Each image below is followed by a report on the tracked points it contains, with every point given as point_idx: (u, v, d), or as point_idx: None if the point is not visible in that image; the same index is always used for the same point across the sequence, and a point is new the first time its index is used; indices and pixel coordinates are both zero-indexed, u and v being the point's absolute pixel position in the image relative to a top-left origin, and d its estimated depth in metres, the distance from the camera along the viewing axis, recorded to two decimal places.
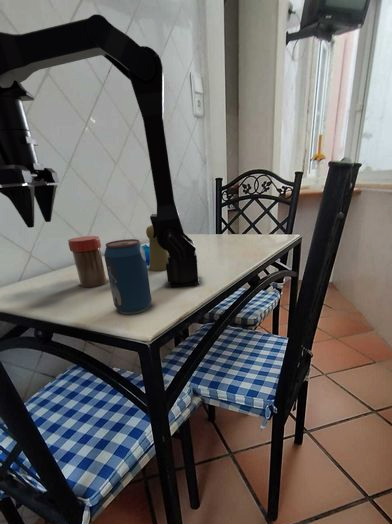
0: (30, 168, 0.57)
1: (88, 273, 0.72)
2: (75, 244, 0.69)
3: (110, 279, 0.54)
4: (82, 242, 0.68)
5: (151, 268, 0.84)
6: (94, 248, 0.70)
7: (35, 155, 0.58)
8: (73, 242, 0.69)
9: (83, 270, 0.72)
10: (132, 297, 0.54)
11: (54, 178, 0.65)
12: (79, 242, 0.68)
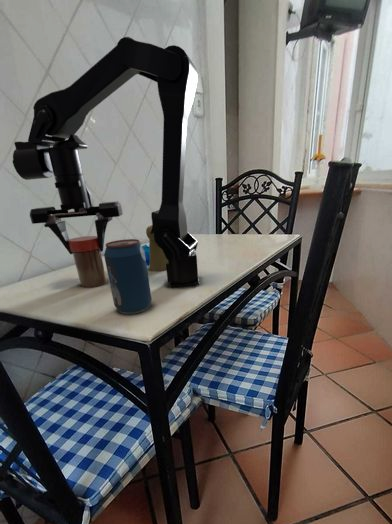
0: None
1: (88, 273, 0.72)
2: (75, 244, 0.69)
3: (110, 279, 0.54)
4: (82, 242, 0.68)
5: (151, 268, 0.84)
6: (94, 248, 0.70)
7: (69, 196, 0.65)
8: (73, 242, 0.69)
9: (83, 270, 0.72)
10: (132, 297, 0.54)
11: (102, 214, 0.66)
12: (79, 242, 0.68)
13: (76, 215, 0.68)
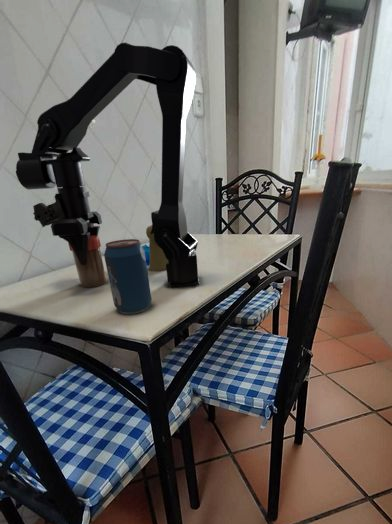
0: (84, 217, 0.67)
1: (88, 273, 0.72)
2: (96, 240, 0.70)
3: (110, 279, 0.54)
4: (98, 238, 0.72)
5: (151, 268, 0.84)
6: None
7: (88, 205, 0.68)
8: (95, 239, 0.70)
9: (83, 270, 0.72)
10: (132, 297, 0.54)
11: (99, 221, 0.75)
12: (98, 238, 0.71)
13: None
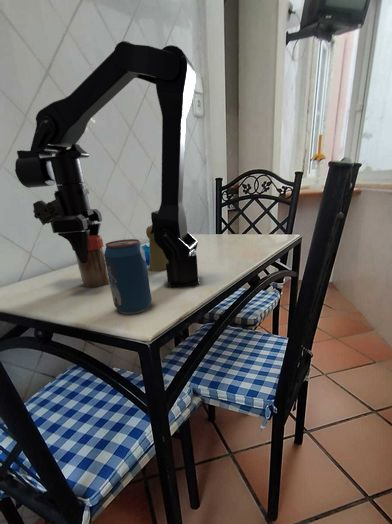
0: (84, 214, 0.67)
1: (91, 273, 0.72)
2: (99, 240, 0.70)
3: (110, 279, 0.54)
4: None
5: (151, 268, 0.84)
6: None
7: (88, 203, 0.68)
8: (98, 238, 0.70)
9: (86, 270, 0.71)
10: (132, 297, 0.54)
11: (99, 218, 0.75)
12: (101, 238, 0.71)
13: None
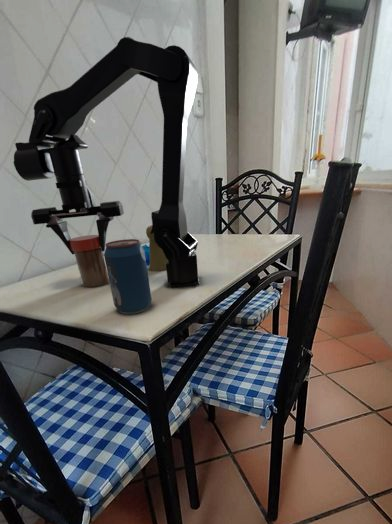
0: None
1: (90, 273, 0.72)
2: (94, 241, 0.69)
3: (110, 279, 0.54)
4: None
5: (151, 268, 0.84)
6: None
7: (70, 196, 0.65)
8: (92, 239, 0.69)
9: (85, 270, 0.71)
10: (132, 297, 0.54)
11: (104, 214, 0.66)
12: (97, 238, 0.70)
13: (77, 215, 0.68)
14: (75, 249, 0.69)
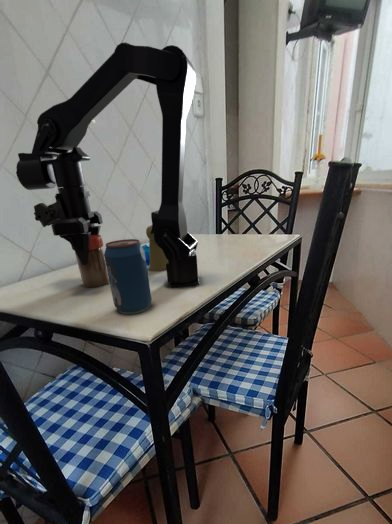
0: (85, 217, 0.67)
1: (91, 273, 0.72)
2: None
3: (110, 279, 0.54)
4: None
5: (151, 268, 0.84)
6: None
7: (89, 205, 0.68)
8: None
9: (86, 270, 0.71)
10: (132, 297, 0.54)
11: (99, 221, 0.75)
12: None
13: None
14: (98, 246, 0.70)
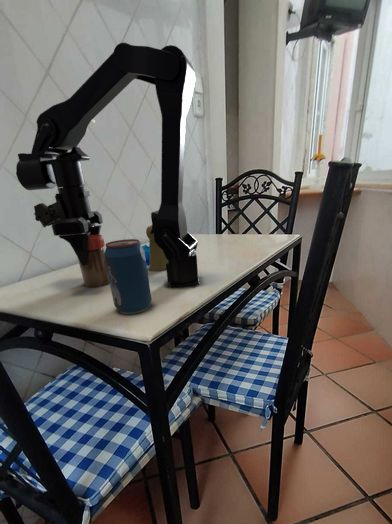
0: (85, 217, 0.67)
1: (92, 273, 0.72)
2: None
3: (110, 279, 0.54)
4: None
5: (151, 268, 0.84)
6: None
7: (88, 205, 0.68)
8: None
9: (87, 270, 0.72)
10: (132, 297, 0.54)
11: (99, 221, 0.75)
12: None
13: None
14: (99, 246, 0.70)
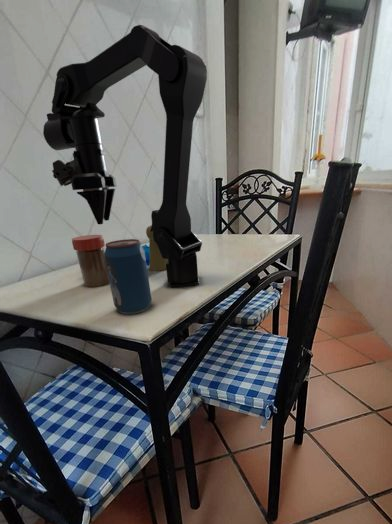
0: (102, 175, 0.69)
1: (92, 273, 0.72)
2: None
3: (110, 279, 0.54)
4: None
5: (151, 268, 0.84)
6: None
7: (105, 164, 0.70)
8: None
9: (87, 270, 0.72)
10: (132, 297, 0.54)
11: (114, 183, 0.77)
12: None
13: None
14: (99, 246, 0.70)
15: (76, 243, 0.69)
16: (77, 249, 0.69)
